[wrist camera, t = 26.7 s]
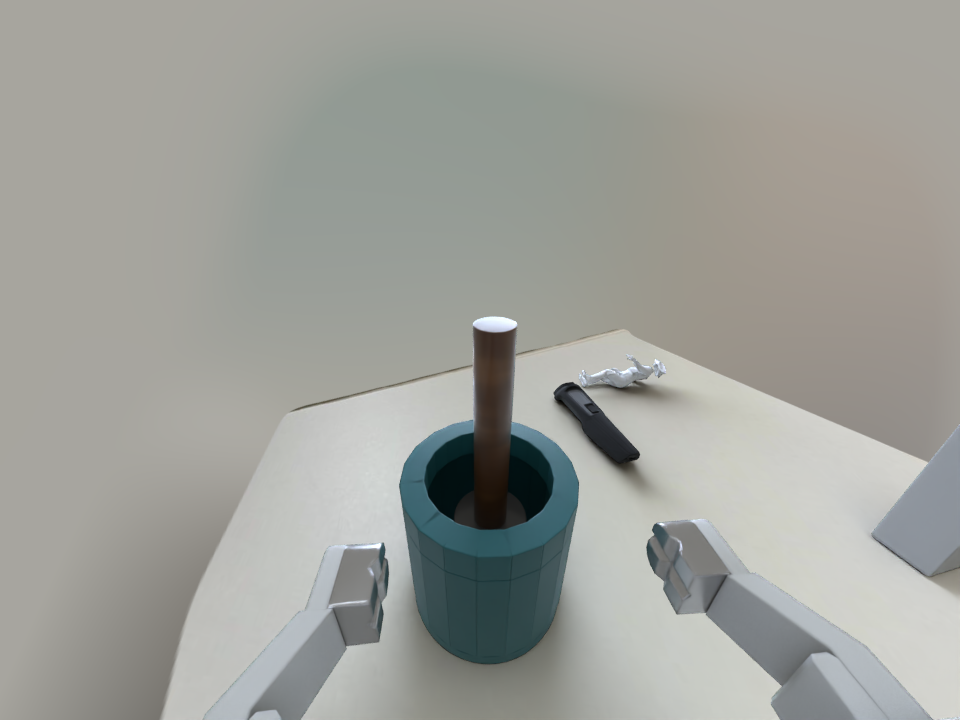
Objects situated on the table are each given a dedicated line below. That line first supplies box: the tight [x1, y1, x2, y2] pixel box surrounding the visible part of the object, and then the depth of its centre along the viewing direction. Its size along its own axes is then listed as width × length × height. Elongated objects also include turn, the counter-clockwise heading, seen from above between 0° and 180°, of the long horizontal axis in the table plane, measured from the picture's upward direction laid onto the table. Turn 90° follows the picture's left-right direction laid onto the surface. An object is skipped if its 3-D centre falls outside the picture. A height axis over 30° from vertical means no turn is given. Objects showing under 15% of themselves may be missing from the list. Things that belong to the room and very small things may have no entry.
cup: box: [399, 420, 579, 664], centre depth 24 cm, size 11×11×11 cm
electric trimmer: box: [554, 382, 640, 463], centre depth 42 cm, size 4×16×3 cm, turn 14°
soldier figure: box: [579, 354, 666, 388], centre depth 51 cm, size 8×5×12 cm
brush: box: [454, 317, 527, 530], centre depth 21 cm, size 5×5×20 cm
